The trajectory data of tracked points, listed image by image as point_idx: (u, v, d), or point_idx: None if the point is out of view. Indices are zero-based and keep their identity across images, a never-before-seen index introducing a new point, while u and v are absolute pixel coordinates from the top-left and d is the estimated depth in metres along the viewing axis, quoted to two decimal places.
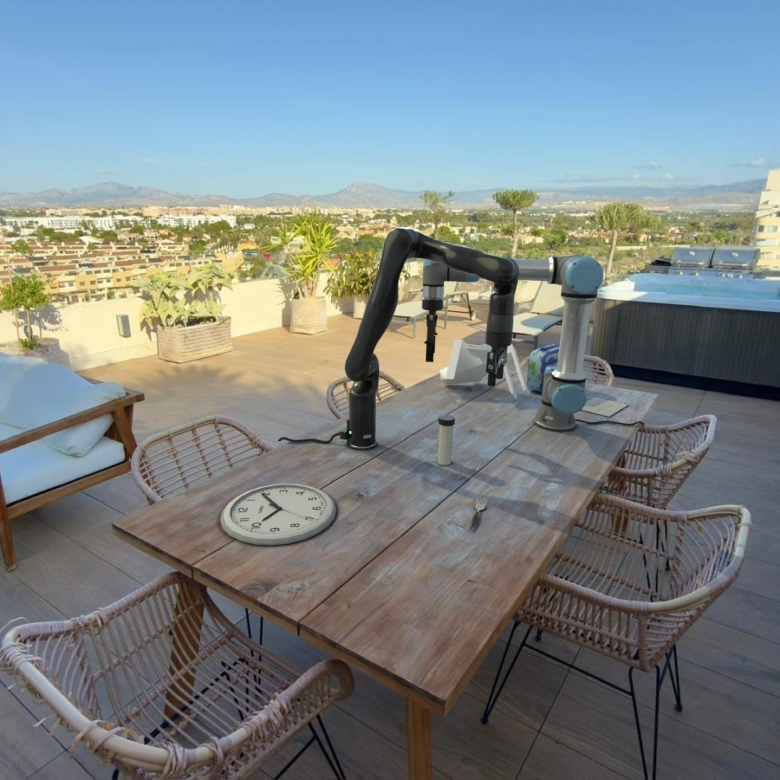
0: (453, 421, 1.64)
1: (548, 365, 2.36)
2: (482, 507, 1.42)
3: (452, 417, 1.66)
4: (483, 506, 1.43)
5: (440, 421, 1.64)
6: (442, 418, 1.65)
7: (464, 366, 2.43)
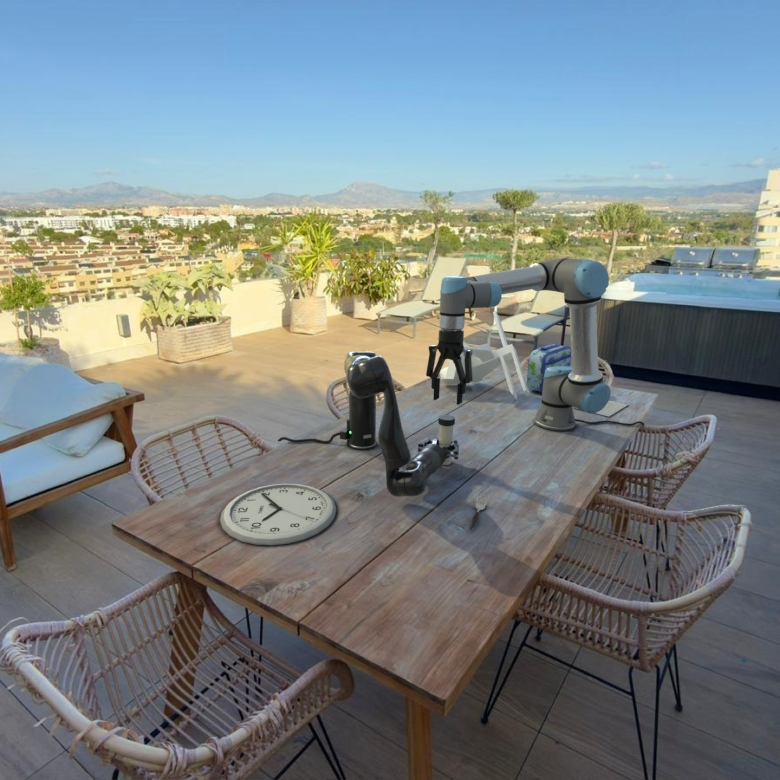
0: (453, 421, 1.64)
1: (548, 365, 2.36)
2: (482, 507, 1.42)
3: (452, 417, 1.66)
4: (483, 506, 1.43)
5: (440, 421, 1.64)
6: (442, 418, 1.65)
7: (464, 366, 2.43)
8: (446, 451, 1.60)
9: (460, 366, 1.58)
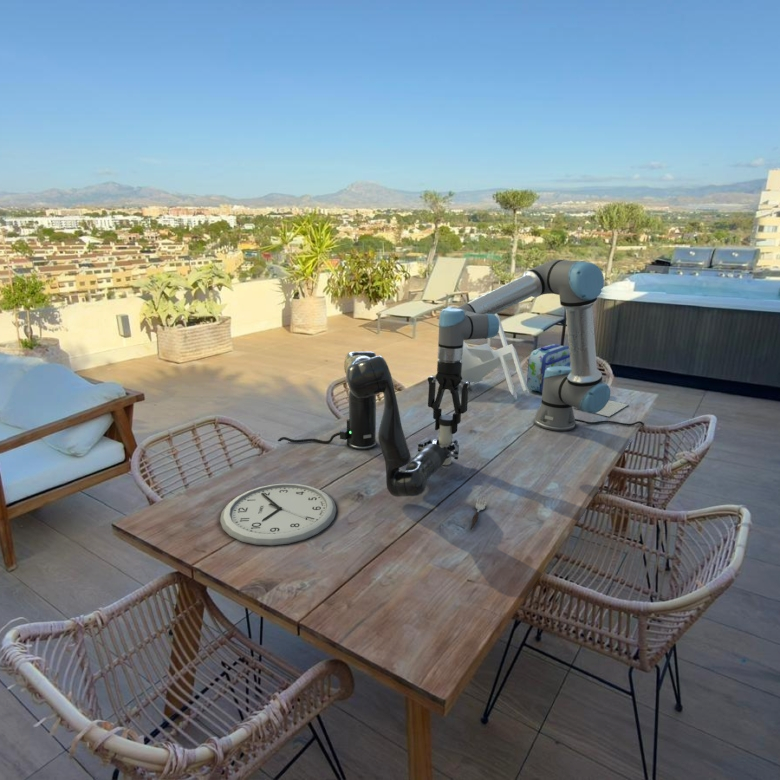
0: None
1: (548, 365, 2.36)
2: (482, 507, 1.42)
3: (452, 417, 1.66)
4: (483, 506, 1.43)
5: (440, 421, 1.64)
6: (442, 418, 1.65)
7: (464, 366, 2.43)
8: (446, 451, 1.60)
9: (457, 397, 1.62)
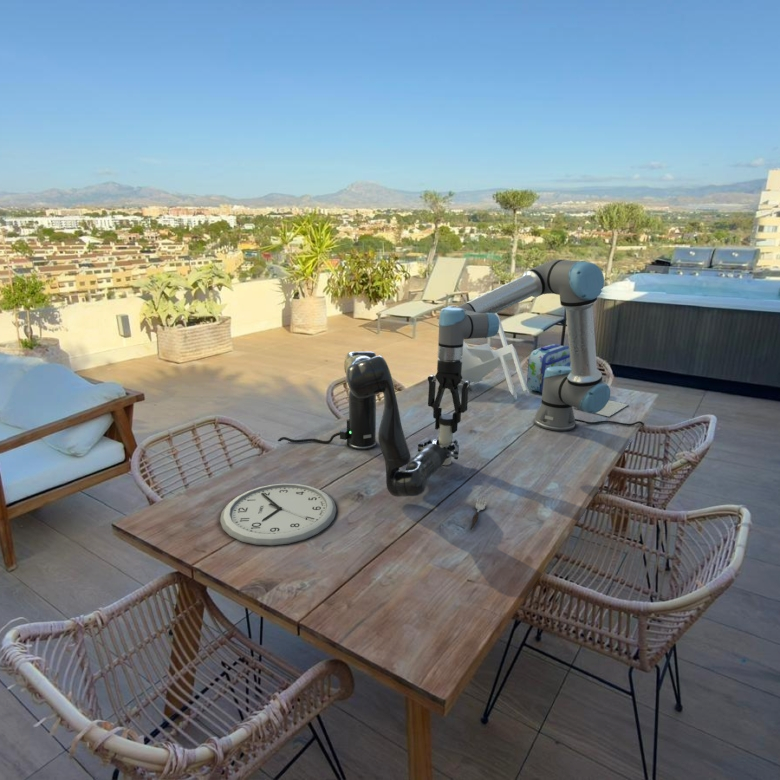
0: None
1: (548, 365, 2.36)
2: (482, 507, 1.42)
3: (445, 414, 1.67)
4: (483, 506, 1.43)
5: None
6: (450, 418, 1.64)
7: (464, 366, 2.43)
8: (446, 451, 1.60)
9: (457, 396, 1.62)
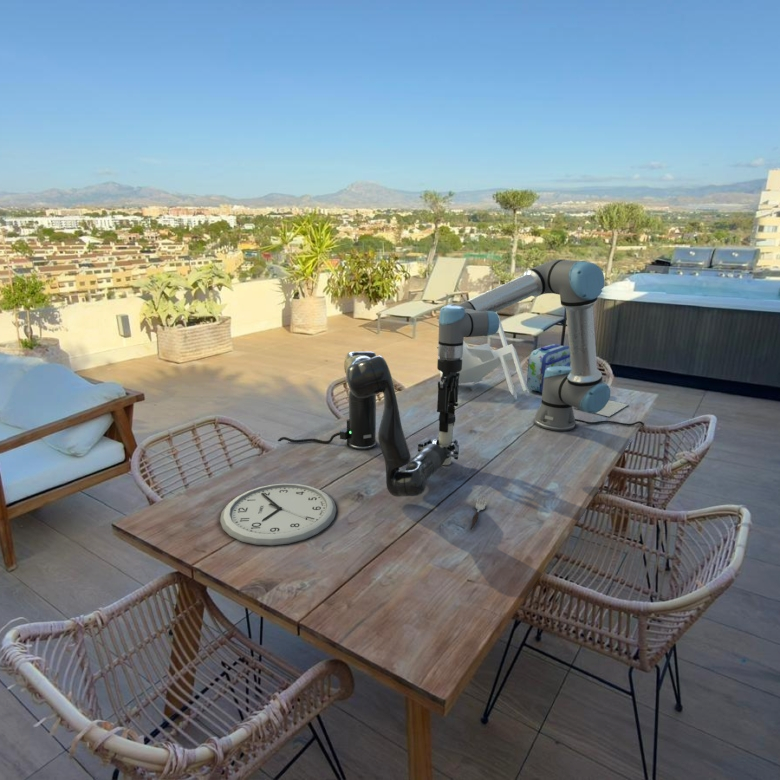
0: None
1: (548, 365, 2.36)
2: (482, 507, 1.42)
3: None
4: (483, 506, 1.43)
5: None
6: (450, 414, 1.66)
7: (464, 366, 2.43)
8: (446, 451, 1.60)
9: None
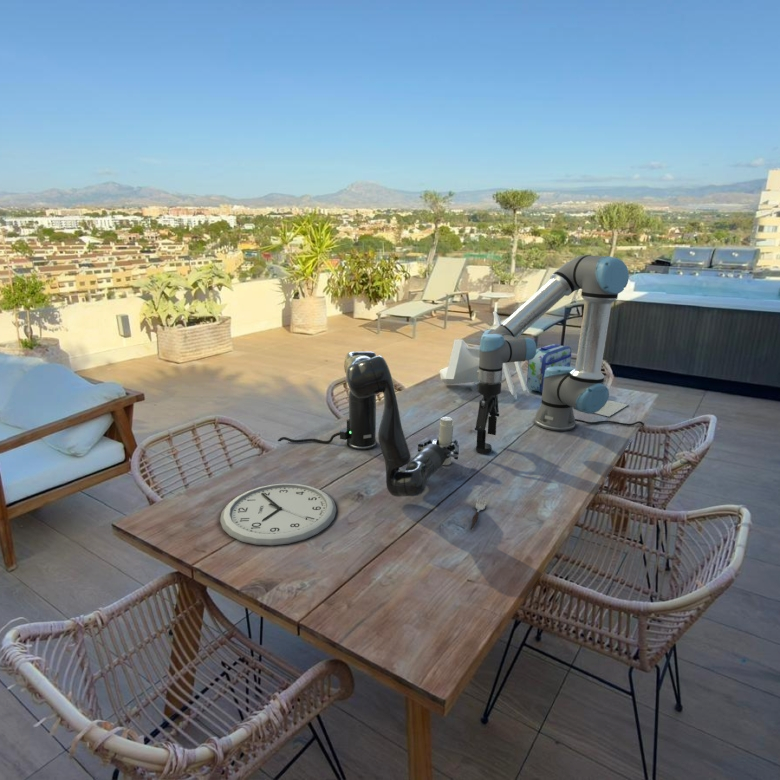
0: None
1: (548, 365, 2.36)
2: (482, 507, 1.42)
3: None
4: (483, 506, 1.43)
5: None
6: (487, 444, 1.80)
7: (464, 366, 2.43)
8: (446, 451, 1.60)
9: None
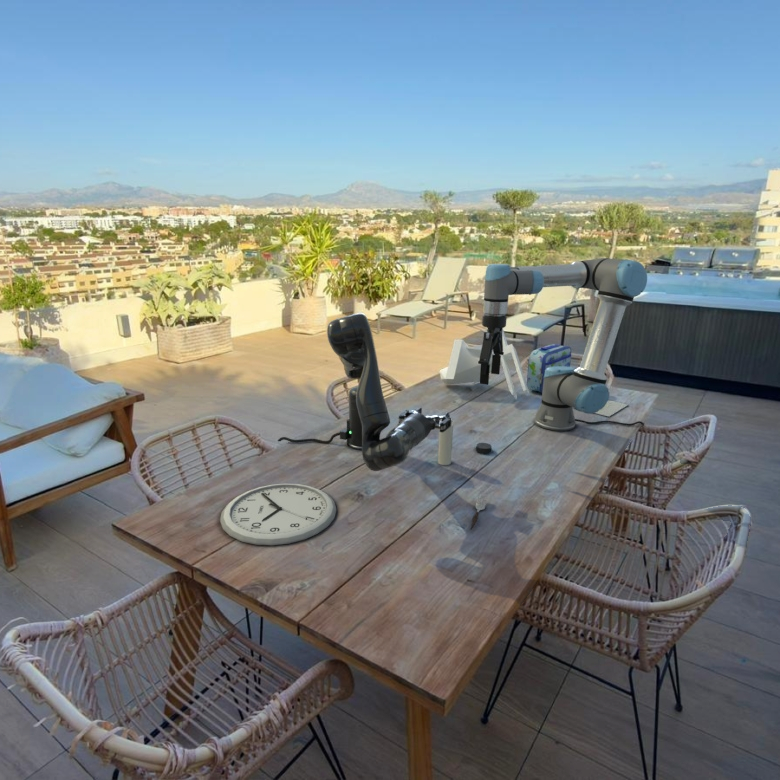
0: None
1: (548, 365, 2.36)
2: (482, 507, 1.42)
3: (479, 445, 1.79)
4: (483, 506, 1.43)
5: None
6: (487, 444, 1.80)
7: (464, 366, 2.43)
8: (431, 421, 1.44)
9: None
